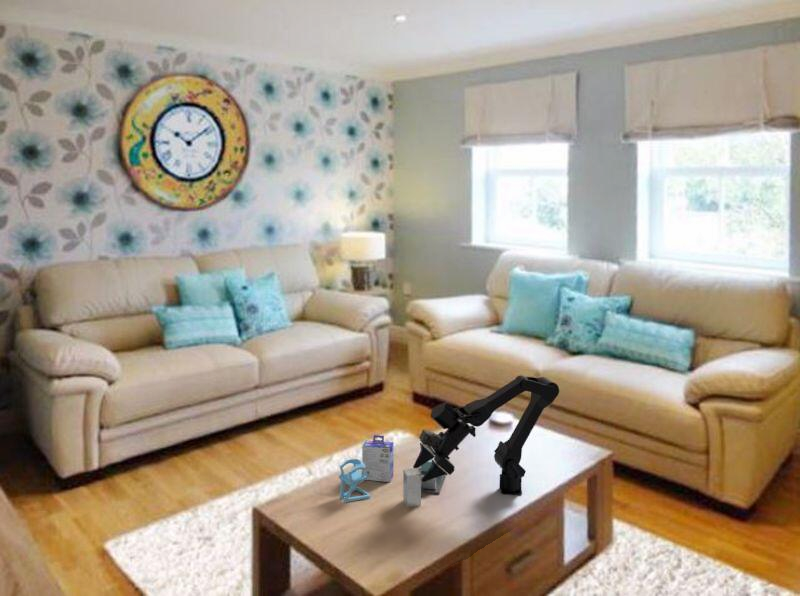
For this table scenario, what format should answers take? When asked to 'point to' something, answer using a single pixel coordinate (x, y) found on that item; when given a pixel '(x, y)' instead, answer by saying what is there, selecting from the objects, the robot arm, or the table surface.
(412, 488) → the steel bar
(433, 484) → the bench vise
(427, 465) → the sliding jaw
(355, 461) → the chair
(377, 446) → the ink cartridge box
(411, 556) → the table surface
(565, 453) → the table surface
